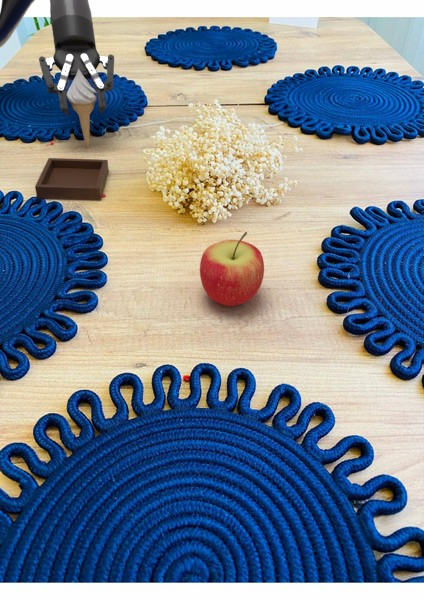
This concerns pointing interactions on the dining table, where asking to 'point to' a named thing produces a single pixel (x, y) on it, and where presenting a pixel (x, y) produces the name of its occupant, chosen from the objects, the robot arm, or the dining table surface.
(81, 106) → the ice cream cone
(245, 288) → the apple
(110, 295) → the dining table surface
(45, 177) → the tray
